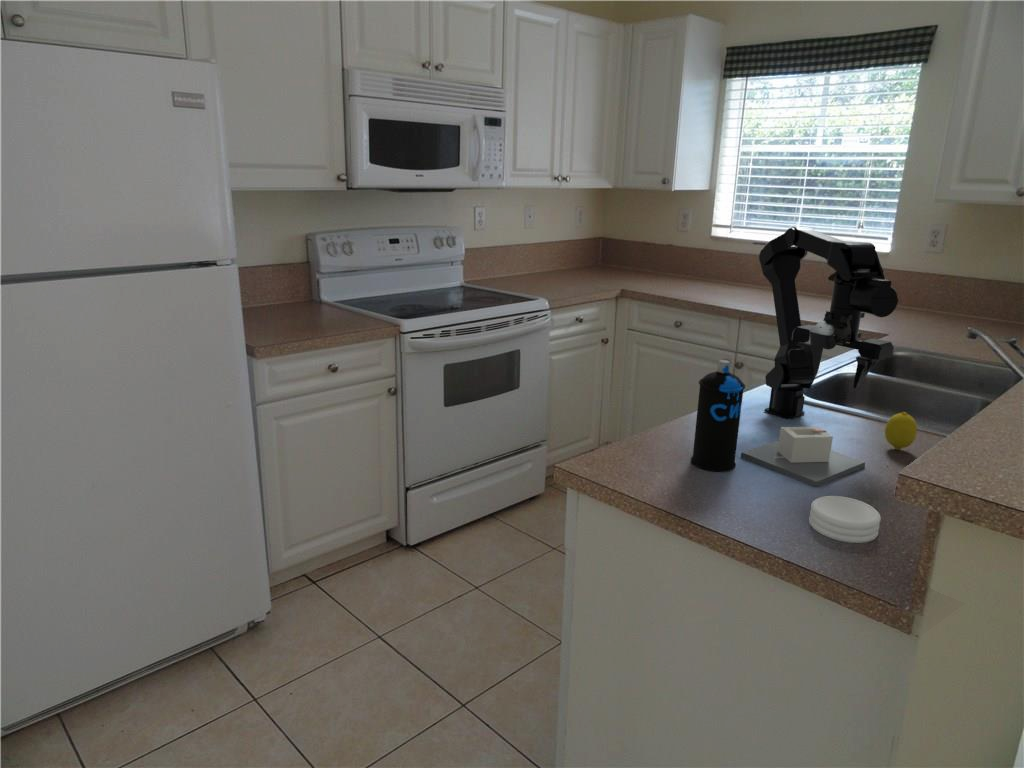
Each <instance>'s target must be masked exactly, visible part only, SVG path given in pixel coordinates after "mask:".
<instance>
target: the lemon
mask: <svg viewBox="0 0 1024 768" xmlns="http://www.w3.org/2000/svg"><path fill="white" fill-rule="evenodd" d="M917 426H918V425H917V422H916V420H915V418H914V417H913V416H911V415H910V414H908V413H907V412H905V411H902V412H899V413H896V414H894V415H891V417H890V418H889V419H888V421H887V423H886V425H885V428H884V435H885V436H884V437H885V440H886V442H887V443H888V444H889V445H890V446H892V447H893V448H894V449H895V450H897V451H899V450H901V449H904V448H907V447H910V446H911V445H912V444H913V443H914V442H915V439H917V438H916V437H917V433H918V427H917Z"/></svg>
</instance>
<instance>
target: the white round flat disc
mask: <svg viewBox="0 0 1024 768" xmlns="http://www.w3.org/2000/svg"><path fill="white" fill-rule="evenodd" d="M881 520H882V517H881V515H880V512H878V510H877V509H875V508H874V507H873V506H871V505H870V504H868V503H866V502H865V501H862V500H859V499H855V498H851V497H847V496H840V495H826V496H825V495H824V496H820V497H817V498H816V499H814V500H813V501H812V502H811V505H810V511H809V517H808V522H809V526H810V527H811V528H813V530H815V531H816V532H817V533H819V534H821V535H823V536H824V537H827V538H829V539H832V540H835V541H838V542H843V543H851V544H864V543H868V542H872V541H873V540H875V539H876V538H877V537H878V535H879V529H880V526H881V525H880V523H881Z"/></svg>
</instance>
